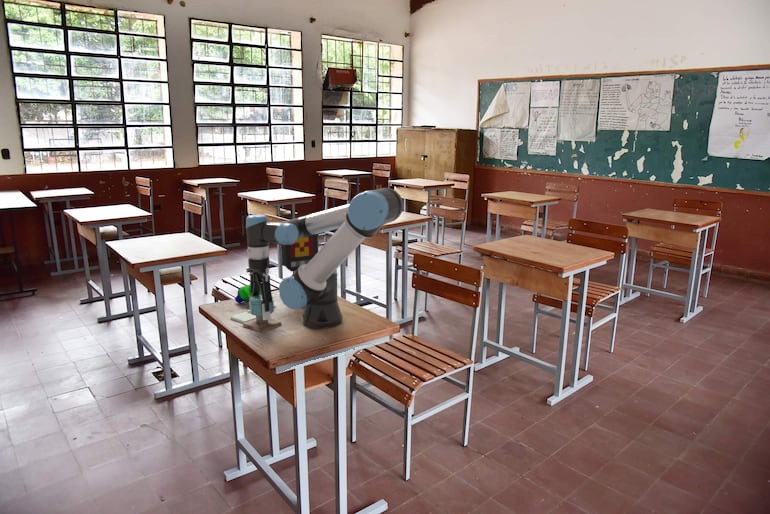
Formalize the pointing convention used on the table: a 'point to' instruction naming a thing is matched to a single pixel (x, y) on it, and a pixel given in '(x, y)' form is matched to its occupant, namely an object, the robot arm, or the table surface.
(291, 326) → the table surface
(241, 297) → the toy
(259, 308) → the cap
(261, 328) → the post stand
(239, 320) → the mat
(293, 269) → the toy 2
